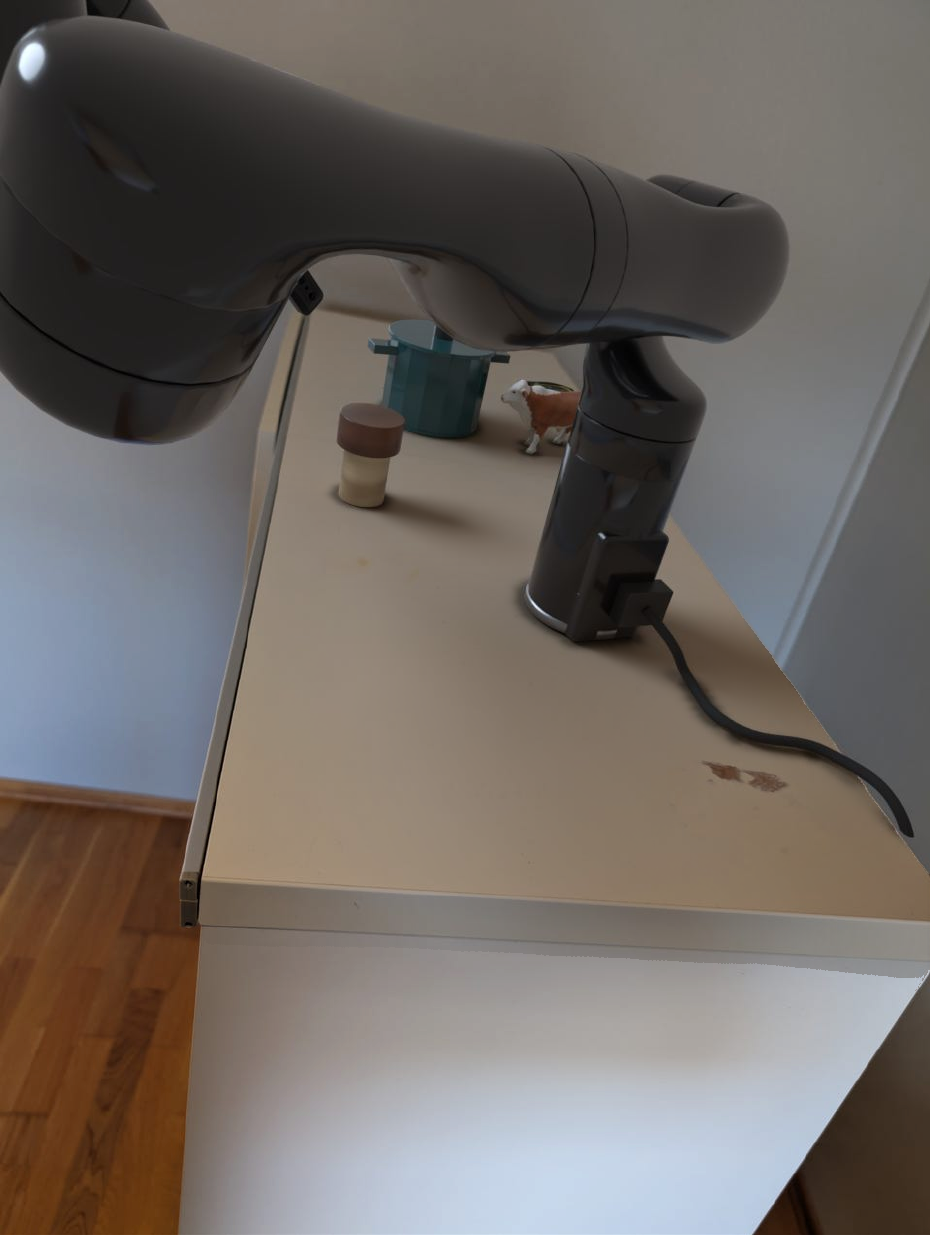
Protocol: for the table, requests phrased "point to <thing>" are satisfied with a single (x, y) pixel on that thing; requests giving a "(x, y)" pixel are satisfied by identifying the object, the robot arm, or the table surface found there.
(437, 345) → the pot lid
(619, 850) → the table surface
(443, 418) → the pot
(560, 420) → the bull figurine
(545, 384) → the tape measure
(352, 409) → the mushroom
